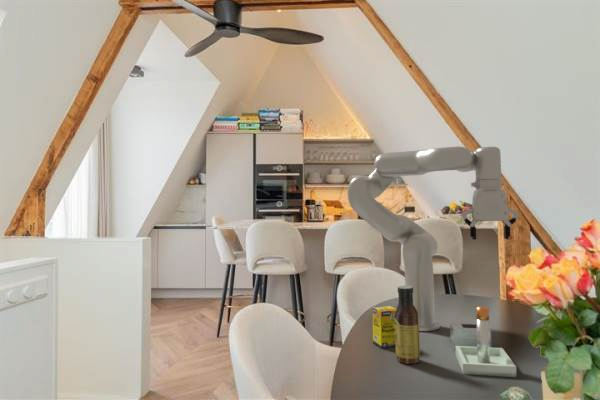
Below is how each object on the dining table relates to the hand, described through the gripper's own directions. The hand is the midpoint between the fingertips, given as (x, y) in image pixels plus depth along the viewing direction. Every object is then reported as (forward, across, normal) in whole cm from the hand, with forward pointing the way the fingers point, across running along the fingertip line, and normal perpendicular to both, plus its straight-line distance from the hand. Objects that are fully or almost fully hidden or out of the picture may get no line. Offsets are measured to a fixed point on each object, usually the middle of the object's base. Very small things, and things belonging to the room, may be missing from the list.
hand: (490, 239), depth 138 cm
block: (+30, -9, -14) cm, 35 cm away
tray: (+30, -8, -29) cm, 43 cm away
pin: (+30, -8, -29) cm, 42 cm away
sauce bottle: (+31, -27, -29) cm, 50 cm away
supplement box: (+31, -33, -16) cm, 48 cm away
